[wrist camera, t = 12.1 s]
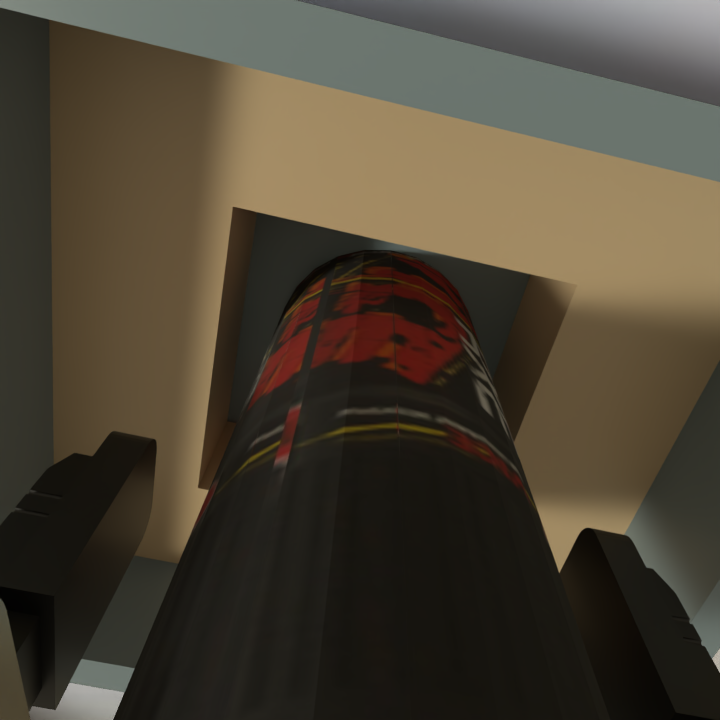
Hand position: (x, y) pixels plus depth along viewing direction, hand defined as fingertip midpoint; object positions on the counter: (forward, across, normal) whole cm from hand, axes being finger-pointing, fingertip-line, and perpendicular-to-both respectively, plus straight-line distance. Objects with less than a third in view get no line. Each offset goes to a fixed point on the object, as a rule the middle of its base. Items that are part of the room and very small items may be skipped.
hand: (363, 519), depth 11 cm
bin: (+9, 0, 0) cm, 9 cm away
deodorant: (+8, 0, 0) cm, 8 cm away
